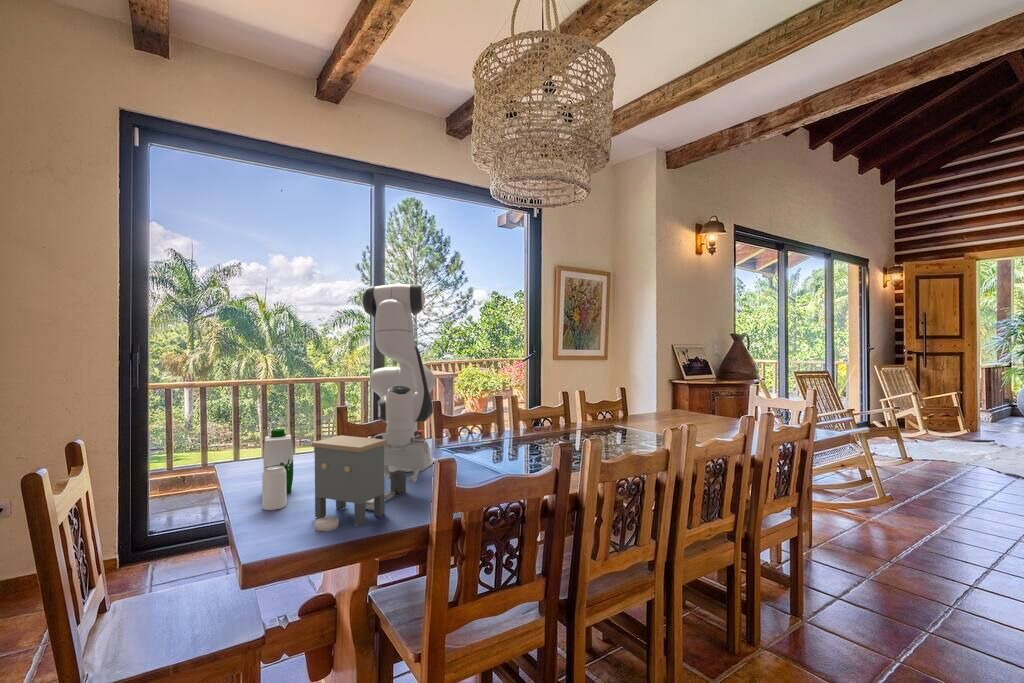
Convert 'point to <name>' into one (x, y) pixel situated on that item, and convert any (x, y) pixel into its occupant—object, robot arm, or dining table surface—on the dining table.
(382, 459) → the cabinet
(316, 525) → the coaster
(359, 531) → the dining table surface
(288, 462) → the milk carton
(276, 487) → the can
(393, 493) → the block
